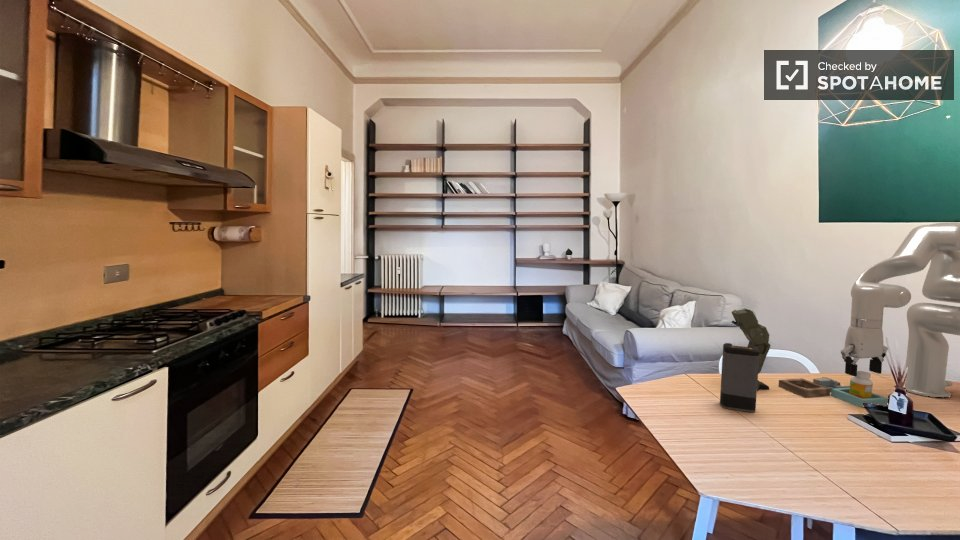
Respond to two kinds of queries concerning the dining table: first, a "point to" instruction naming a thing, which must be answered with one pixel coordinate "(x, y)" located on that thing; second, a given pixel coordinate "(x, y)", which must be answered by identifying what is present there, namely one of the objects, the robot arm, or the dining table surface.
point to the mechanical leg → (753, 336)
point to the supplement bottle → (861, 385)
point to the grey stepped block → (825, 382)
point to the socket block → (810, 390)
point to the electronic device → (739, 377)
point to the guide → (838, 386)
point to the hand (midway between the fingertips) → (863, 373)
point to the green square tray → (845, 396)
